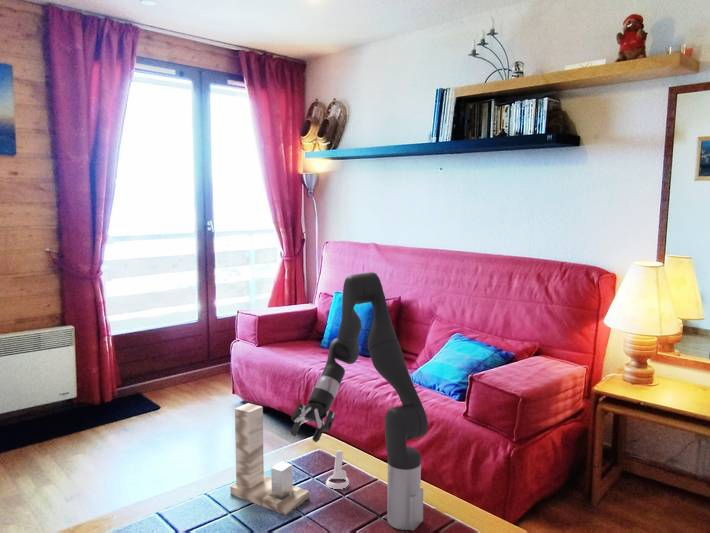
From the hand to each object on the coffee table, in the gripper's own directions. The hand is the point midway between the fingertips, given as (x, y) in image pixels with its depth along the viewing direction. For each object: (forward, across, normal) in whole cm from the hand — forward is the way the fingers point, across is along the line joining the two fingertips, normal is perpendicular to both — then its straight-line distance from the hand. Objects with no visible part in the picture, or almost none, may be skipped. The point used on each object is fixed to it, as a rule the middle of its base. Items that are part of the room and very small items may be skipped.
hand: (303, 438), depth 174 cm
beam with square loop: (+19, -5, +4) cm, 20 cm away
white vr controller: (+6, +8, +17) cm, 20 cm away
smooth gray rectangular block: (+19, 0, +4) cm, 19 cm away
